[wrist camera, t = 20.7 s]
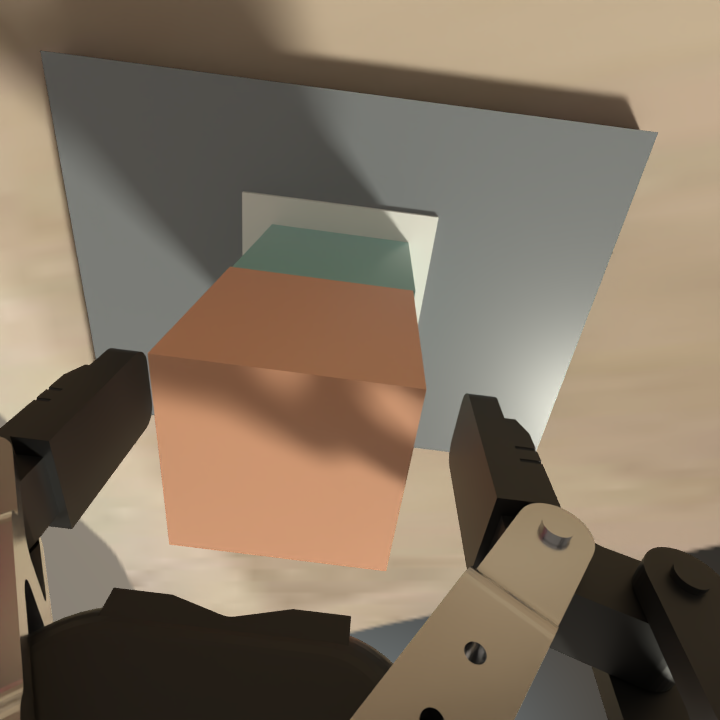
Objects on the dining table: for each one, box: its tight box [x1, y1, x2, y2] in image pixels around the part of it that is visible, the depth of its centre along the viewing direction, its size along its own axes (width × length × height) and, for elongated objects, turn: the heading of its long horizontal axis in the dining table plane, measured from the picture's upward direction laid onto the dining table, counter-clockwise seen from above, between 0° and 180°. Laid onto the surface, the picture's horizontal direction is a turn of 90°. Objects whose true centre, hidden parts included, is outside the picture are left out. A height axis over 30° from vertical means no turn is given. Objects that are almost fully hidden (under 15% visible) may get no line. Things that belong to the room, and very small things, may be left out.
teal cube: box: [233, 224, 415, 296], centre depth 16 cm, size 5×5×5 cm
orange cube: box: [148, 267, 427, 571], centre depth 12 cm, size 5×5×5 cm
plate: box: [40, 51, 658, 452], centre depth 19 cm, size 14×20×1 cm
